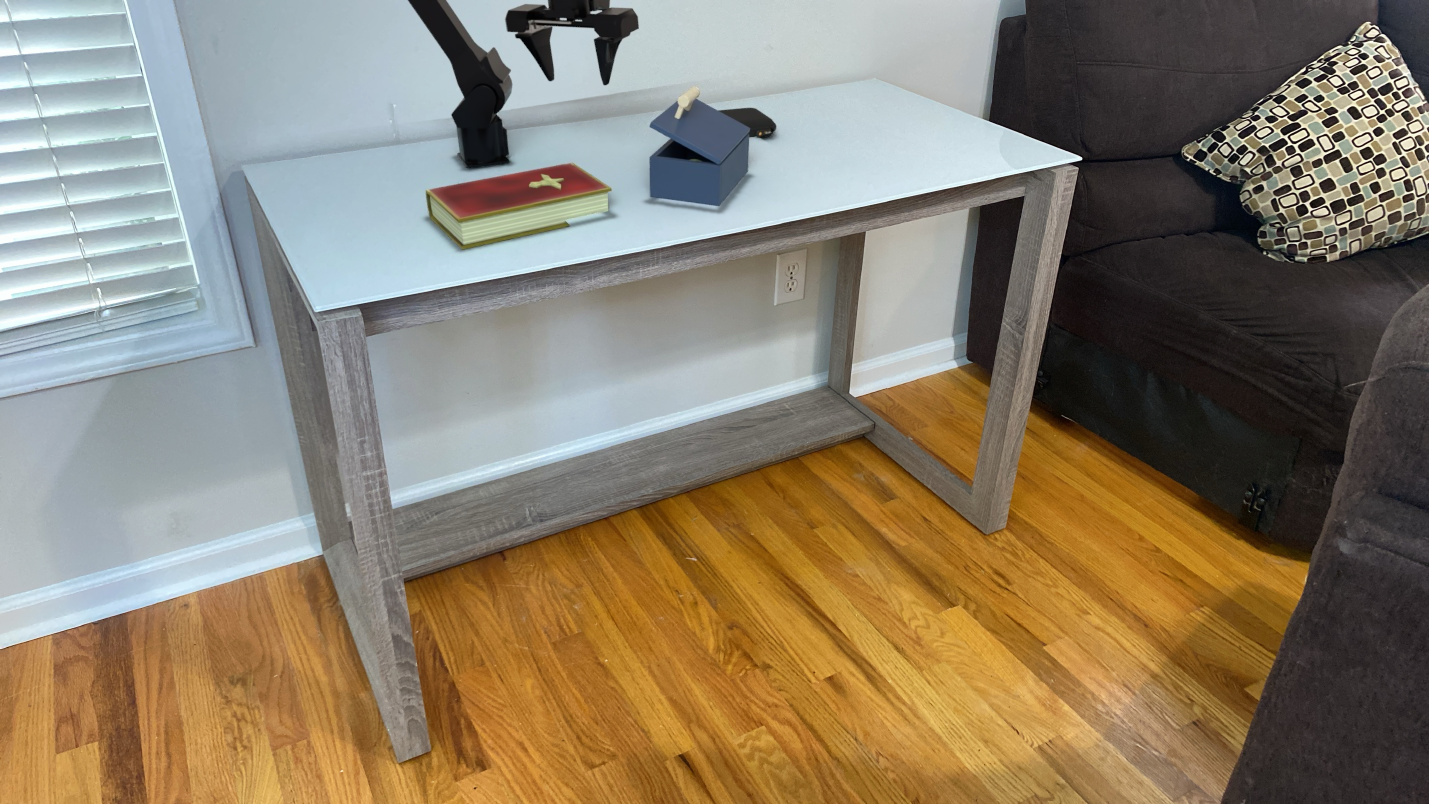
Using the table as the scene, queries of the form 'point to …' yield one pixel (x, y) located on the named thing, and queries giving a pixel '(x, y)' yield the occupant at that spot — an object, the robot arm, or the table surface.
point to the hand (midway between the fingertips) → (578, 82)
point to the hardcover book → (515, 204)
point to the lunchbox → (696, 173)
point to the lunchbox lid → (700, 127)
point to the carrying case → (752, 121)
